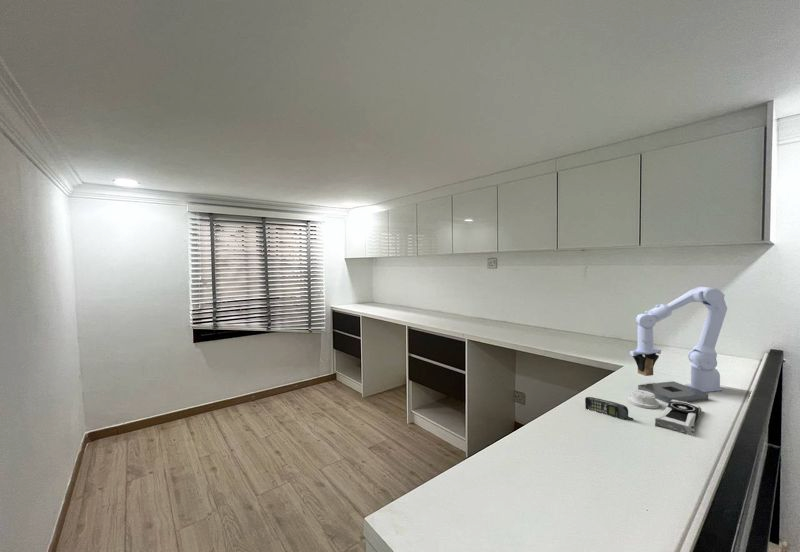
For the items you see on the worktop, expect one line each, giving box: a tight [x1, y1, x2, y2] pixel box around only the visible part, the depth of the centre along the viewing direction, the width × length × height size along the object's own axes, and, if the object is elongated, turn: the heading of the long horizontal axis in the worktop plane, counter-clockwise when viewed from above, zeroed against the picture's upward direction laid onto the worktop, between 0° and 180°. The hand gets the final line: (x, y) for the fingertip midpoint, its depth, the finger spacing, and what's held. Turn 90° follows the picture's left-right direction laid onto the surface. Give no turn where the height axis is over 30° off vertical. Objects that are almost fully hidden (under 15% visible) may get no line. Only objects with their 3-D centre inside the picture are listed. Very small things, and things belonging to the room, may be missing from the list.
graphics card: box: [654, 400, 702, 437], centre depth 114 cm, size 10×3×25 cm
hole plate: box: [637, 380, 709, 405], centre depth 134 cm, size 18×14×2 cm
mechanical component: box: [627, 389, 660, 410], centre depth 128 cm, size 10×4×10 cm
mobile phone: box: [584, 396, 634, 421], centre depth 120 cm, size 5×3×15 cm
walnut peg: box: [637, 358, 654, 377], centre depth 147 cm, size 4×4×7 cm
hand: (645, 370), depth 147 cm, fingers closed on walnut peg, 4 cm apart
